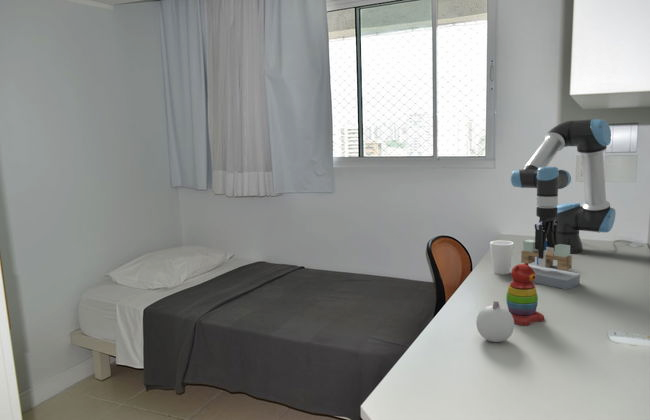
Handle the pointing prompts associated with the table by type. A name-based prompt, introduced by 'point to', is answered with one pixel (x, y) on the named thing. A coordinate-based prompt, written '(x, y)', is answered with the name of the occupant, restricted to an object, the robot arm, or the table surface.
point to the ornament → (495, 323)
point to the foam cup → (501, 256)
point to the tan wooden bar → (548, 259)
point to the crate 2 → (562, 250)
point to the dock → (555, 277)
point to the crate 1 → (529, 246)
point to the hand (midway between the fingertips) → (545, 264)
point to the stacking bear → (523, 296)
